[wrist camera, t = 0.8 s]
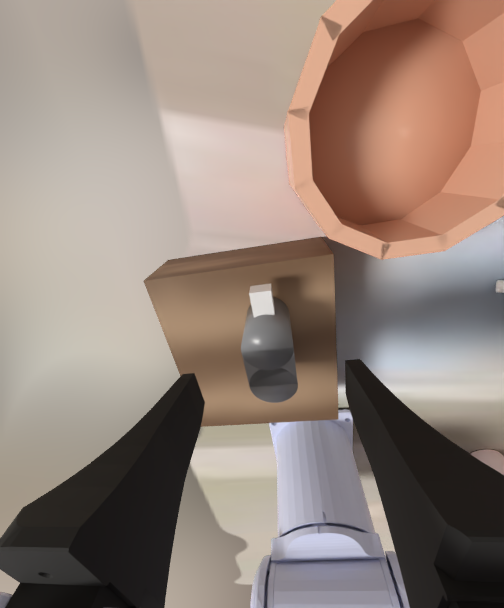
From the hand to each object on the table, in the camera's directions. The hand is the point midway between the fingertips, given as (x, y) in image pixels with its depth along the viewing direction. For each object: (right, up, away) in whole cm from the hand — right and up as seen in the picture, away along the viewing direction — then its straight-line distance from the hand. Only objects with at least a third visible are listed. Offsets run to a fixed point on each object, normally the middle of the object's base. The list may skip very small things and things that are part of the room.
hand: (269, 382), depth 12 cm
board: (-1, +2, +9) cm, 9 cm away
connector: (0, +2, +4) cm, 5 cm away
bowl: (+6, +13, +2) cm, 15 cm away
